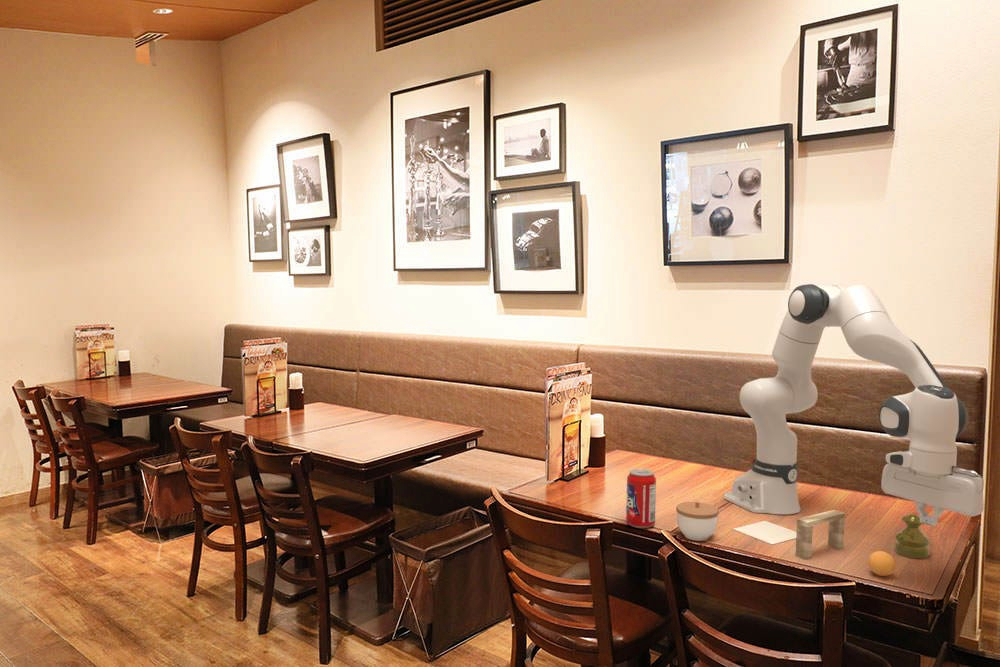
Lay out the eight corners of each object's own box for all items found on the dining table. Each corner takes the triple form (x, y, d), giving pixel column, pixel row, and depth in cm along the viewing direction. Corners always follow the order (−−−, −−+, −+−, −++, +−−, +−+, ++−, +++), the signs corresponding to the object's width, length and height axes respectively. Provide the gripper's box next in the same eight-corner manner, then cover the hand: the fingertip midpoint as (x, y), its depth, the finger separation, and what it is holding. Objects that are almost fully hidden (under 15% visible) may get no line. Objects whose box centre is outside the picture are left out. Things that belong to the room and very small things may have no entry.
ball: (862, 573, 169) (863, 550, 168) (877, 568, 171) (878, 545, 171) (885, 581, 164) (886, 558, 164) (899, 576, 167) (901, 553, 166)
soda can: (655, 530, 196) (657, 476, 194) (626, 529, 197) (627, 474, 196) (654, 521, 203) (655, 468, 202) (625, 519, 205) (626, 467, 203)
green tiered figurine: (916, 548, 185) (919, 509, 184) (935, 559, 177) (937, 519, 176) (888, 548, 184) (890, 509, 184) (905, 559, 177) (907, 519, 176)
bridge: (795, 555, 179) (797, 519, 178) (832, 544, 186) (834, 509, 186) (806, 559, 177) (807, 522, 176) (843, 548, 184) (845, 512, 183)
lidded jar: (726, 538, 190) (727, 503, 190) (699, 547, 184) (700, 511, 183) (693, 526, 199) (694, 493, 198) (667, 534, 193) (667, 500, 192)
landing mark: (732, 529, 197) (732, 528, 197) (765, 521, 204) (765, 520, 204) (772, 545, 186) (772, 544, 186) (805, 536, 192) (805, 535, 192)
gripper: (992, 471, 149) (988, 536, 151) (895, 450, 167) (892, 508, 168) (975, 475, 146) (971, 542, 147) (878, 453, 164) (875, 513, 165)
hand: (928, 524), depth 158 cm, fingers closed
